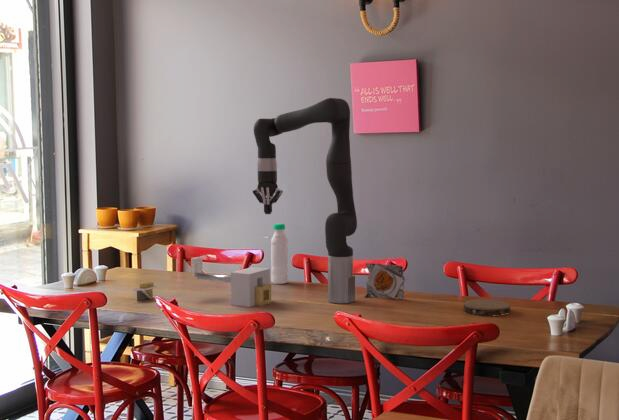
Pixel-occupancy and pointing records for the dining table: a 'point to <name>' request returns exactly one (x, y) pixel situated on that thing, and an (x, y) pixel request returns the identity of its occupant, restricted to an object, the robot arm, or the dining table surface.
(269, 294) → the spacer
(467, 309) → the dark brown disc
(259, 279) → the block
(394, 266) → the meal
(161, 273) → the dining table surface
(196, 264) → the shaft
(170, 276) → the dining table surface
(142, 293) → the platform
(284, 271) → the water bottle
